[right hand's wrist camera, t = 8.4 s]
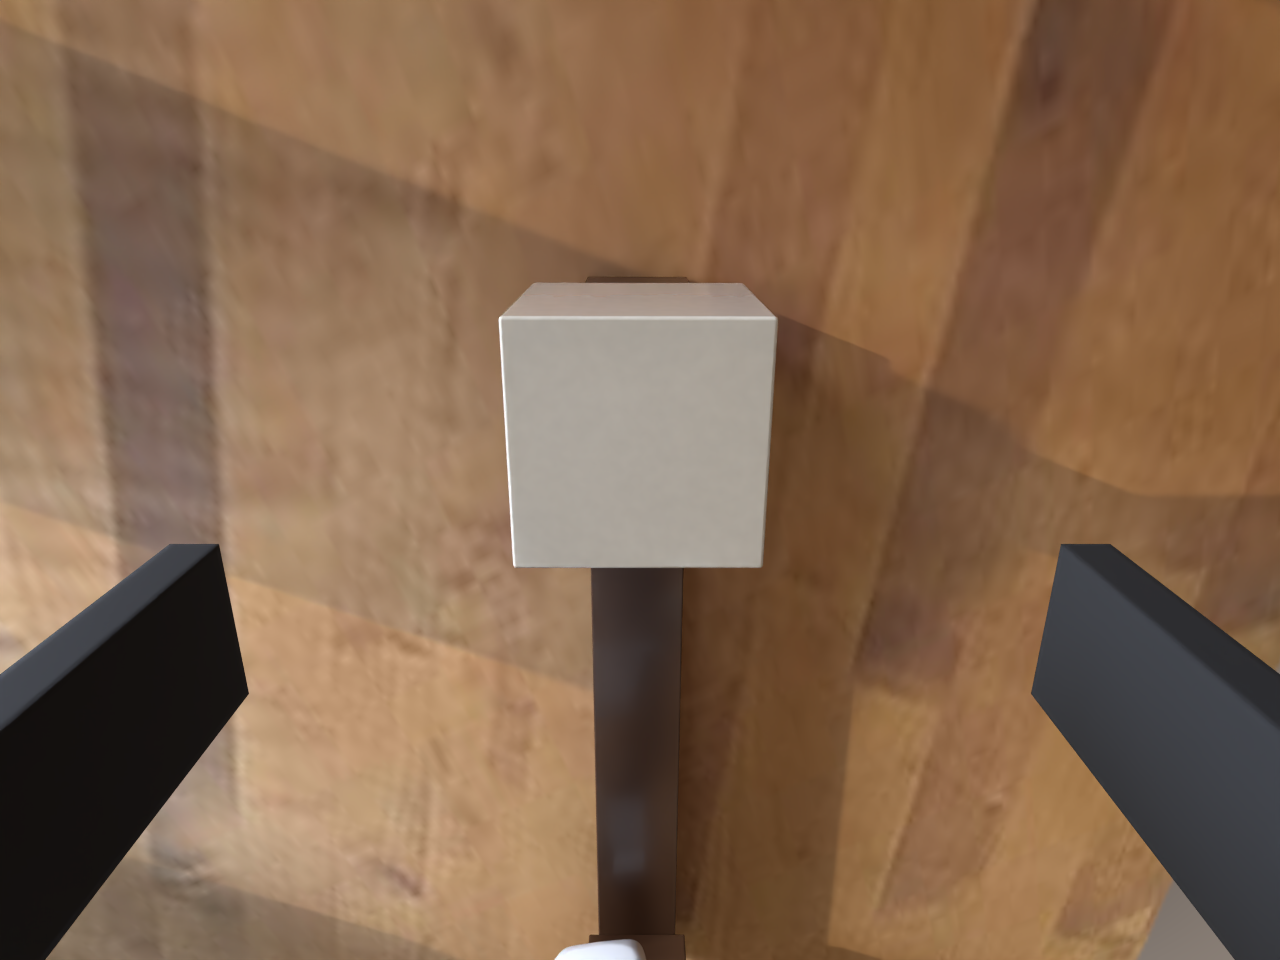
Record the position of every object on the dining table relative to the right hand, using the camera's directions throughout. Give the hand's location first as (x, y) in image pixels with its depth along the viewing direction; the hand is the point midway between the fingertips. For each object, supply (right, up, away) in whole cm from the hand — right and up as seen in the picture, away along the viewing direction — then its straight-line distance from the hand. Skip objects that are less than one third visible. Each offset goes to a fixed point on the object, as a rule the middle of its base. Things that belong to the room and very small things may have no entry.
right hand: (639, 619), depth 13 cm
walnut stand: (0, -6, +26) cm, 27 cm away
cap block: (0, +5, +15) cm, 16 cm away
